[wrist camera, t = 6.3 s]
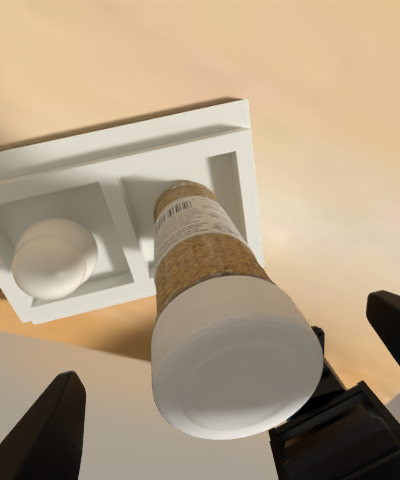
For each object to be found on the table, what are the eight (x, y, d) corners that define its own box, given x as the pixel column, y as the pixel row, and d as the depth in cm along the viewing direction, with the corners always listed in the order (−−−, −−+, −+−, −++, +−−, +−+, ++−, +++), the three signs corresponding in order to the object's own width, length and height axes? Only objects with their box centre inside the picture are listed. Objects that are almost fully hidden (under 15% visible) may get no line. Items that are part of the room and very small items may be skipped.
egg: (112, 259, 20) (99, 308, 15) (49, 274, 19) (15, 329, 15) (89, 200, 18) (66, 234, 13) (20, 216, 17) (-31, 257, 13)
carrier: (260, 261, 23) (272, 278, 20) (38, 316, 22) (25, 340, 20) (243, 99, 17) (256, 97, 15) (-51, 162, 17) (-85, 171, 14)
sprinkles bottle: (170, 252, 20) (194, 468, 8) (141, 195, 18) (114, 371, 6) (229, 227, 20) (343, 408, 8) (206, 167, 18) (311, 288, 6)
